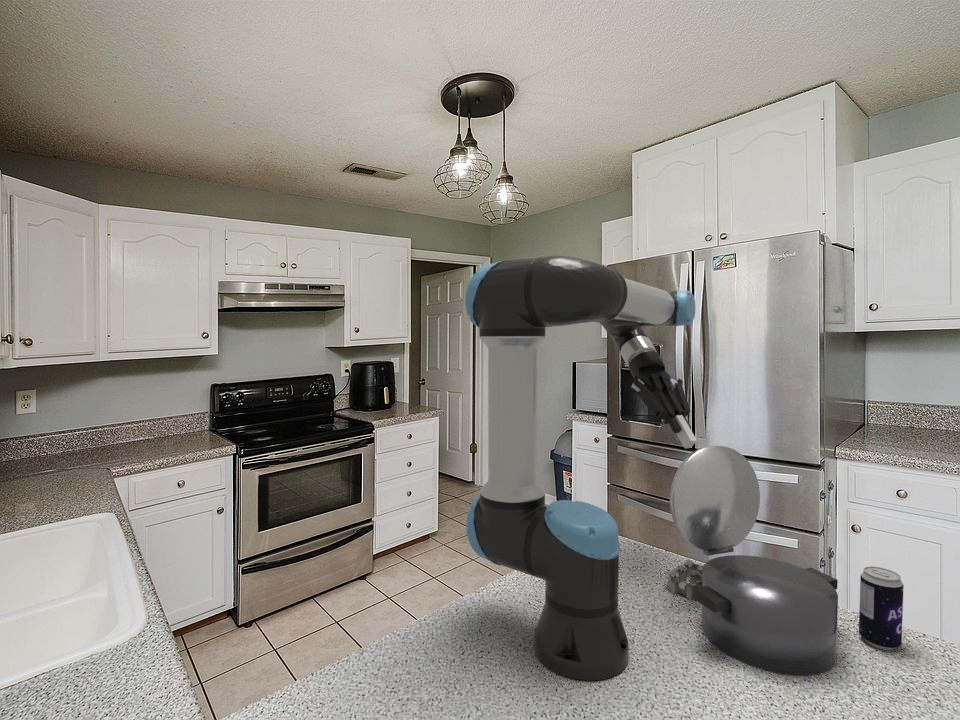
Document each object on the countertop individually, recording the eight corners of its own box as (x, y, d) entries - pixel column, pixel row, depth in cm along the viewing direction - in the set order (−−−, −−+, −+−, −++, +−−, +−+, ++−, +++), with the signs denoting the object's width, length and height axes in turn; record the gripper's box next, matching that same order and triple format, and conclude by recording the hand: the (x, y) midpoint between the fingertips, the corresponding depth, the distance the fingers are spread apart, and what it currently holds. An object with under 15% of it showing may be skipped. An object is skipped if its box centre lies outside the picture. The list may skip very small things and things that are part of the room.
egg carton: (696, 604, 100) (696, 583, 100) (661, 589, 106) (661, 570, 105) (722, 587, 106) (723, 567, 106) (688, 574, 112) (688, 556, 112)
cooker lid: (671, 449, 96) (663, 448, 98) (676, 560, 95) (668, 556, 97) (757, 442, 102) (747, 441, 104) (762, 547, 101) (752, 543, 103)
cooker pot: (751, 691, 75) (752, 623, 74) (663, 619, 94) (664, 565, 93) (880, 657, 83) (882, 596, 82) (775, 597, 102) (776, 547, 101)
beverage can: (890, 657, 83) (893, 583, 82) (851, 638, 88) (853, 569, 87) (908, 647, 85) (910, 576, 85) (869, 629, 90) (871, 562, 90)
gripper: (658, 370, 126) (706, 452, 111) (612, 371, 122) (655, 456, 107) (673, 349, 121) (726, 432, 106) (625, 349, 117) (673, 435, 102)
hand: (690, 444), depth 106 cm, fingers closed
